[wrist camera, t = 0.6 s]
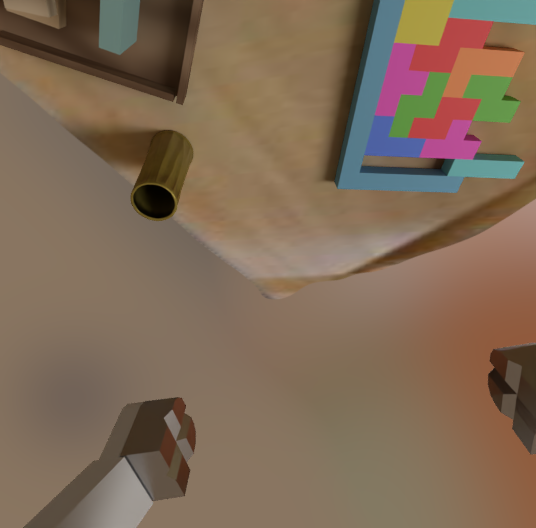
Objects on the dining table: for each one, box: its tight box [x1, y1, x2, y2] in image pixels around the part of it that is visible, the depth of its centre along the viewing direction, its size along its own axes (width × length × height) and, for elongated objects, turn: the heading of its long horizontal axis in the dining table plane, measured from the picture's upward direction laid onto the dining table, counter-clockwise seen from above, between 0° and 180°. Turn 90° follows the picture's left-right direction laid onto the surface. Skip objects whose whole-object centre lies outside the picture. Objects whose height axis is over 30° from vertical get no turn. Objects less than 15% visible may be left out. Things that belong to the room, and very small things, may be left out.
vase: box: [131, 131, 193, 221], centre depth 45 cm, size 6×6×14 cm
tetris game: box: [334, 0, 536, 193], centre depth 47 cm, size 28×3×28 cm
